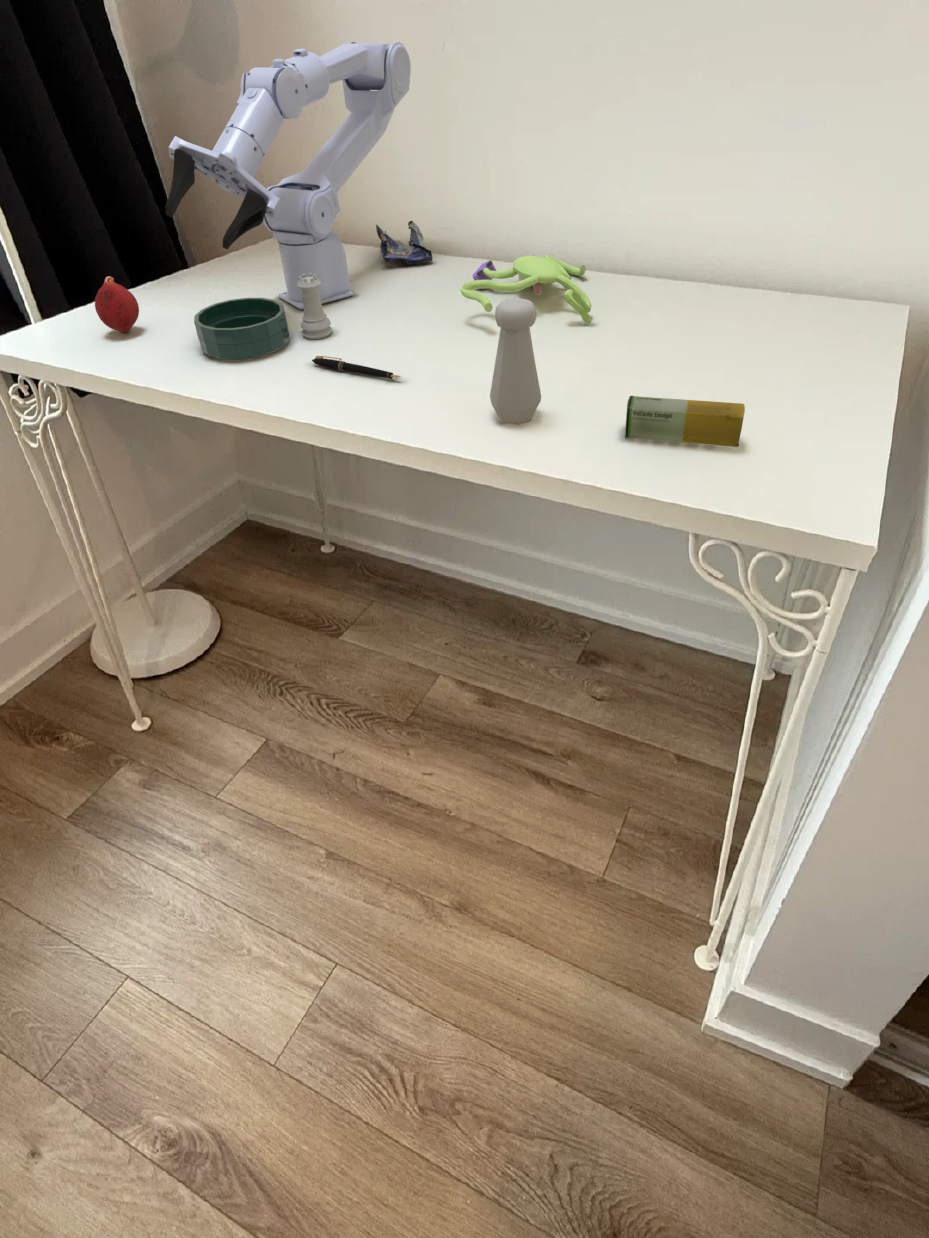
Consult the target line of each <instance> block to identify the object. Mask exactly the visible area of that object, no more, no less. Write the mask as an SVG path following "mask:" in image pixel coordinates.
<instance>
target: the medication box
mask: <svg viewBox="0 0 929 1238" xmlns="http://www.w3.org/2000/svg"><path fill="white" fill-rule="evenodd" d="M745 411H746V406H745V403H739V402H724V401H723V402H722V401H713V400H712V401H711V400H710V401H709V400H696V399H681V398H667V397H651V396H637V395H629V397H628V399H627V405H626V417H625V426H624V427H625V428H624V439H625V440H626V439H627V438H628V439H637V440H638V439H639V440H650V441H663V442H672V443H673V442H675V443H686V444H698V445H708V446H709V445H710V446H721V447H731V448H732V447H733V448H739V447H740V439H741V434H742V430H743V423H744V418H745V413H746V412H745Z"/></svg>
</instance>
